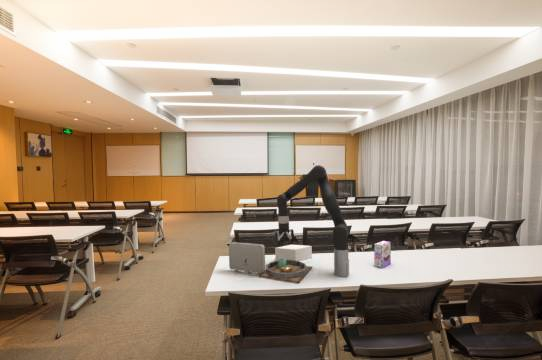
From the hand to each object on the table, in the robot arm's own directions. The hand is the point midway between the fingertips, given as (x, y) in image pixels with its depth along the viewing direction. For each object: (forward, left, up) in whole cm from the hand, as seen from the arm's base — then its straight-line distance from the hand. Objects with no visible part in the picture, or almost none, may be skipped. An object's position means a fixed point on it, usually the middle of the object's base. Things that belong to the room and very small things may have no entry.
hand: (284, 244), depth 192 cm
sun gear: (-4, +7, -16) cm, 18 cm away
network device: (+21, +17, -17) cm, 32 cm away
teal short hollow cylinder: (+2, +1, -16) cm, 16 cm away
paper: (+1, -21, -18) cm, 28 cm away
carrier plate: (-4, +7, -17) cm, 19 cm away
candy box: (-63, -33, -17) cm, 73 cm away
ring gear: (-4, +7, -16) cm, 18 cm away
